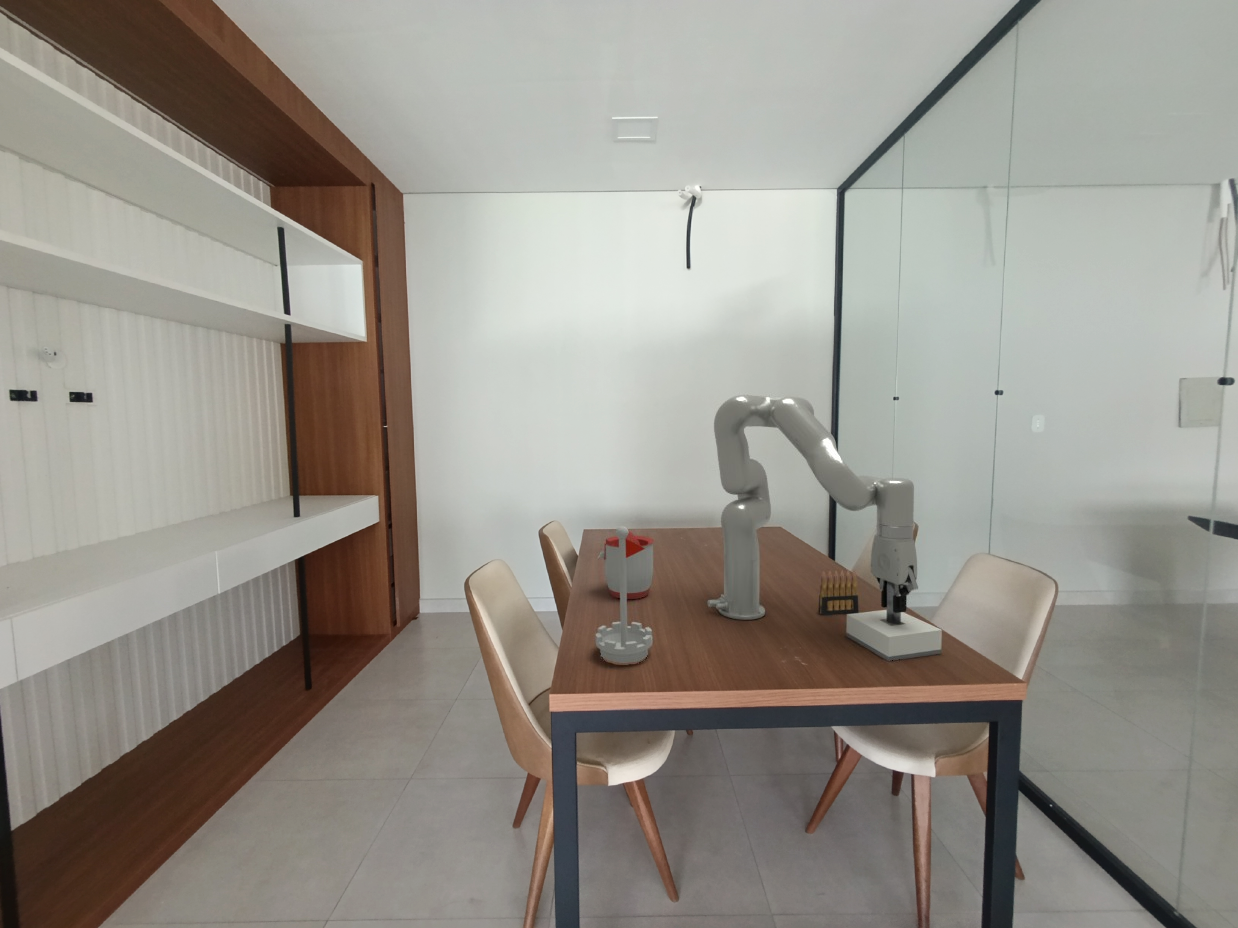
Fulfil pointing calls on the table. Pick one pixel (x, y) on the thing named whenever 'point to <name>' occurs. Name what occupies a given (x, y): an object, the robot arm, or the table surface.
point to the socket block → (894, 635)
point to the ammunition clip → (838, 594)
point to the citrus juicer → (629, 567)
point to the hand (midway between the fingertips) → (893, 608)
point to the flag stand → (624, 618)
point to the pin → (891, 605)
